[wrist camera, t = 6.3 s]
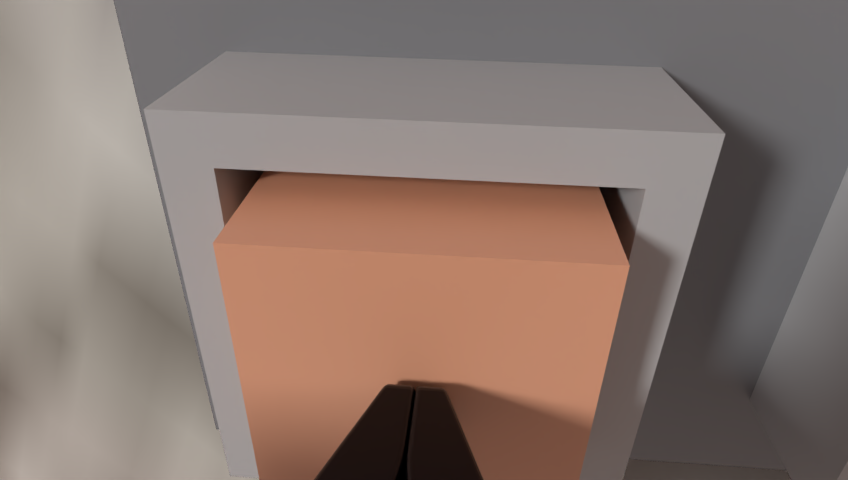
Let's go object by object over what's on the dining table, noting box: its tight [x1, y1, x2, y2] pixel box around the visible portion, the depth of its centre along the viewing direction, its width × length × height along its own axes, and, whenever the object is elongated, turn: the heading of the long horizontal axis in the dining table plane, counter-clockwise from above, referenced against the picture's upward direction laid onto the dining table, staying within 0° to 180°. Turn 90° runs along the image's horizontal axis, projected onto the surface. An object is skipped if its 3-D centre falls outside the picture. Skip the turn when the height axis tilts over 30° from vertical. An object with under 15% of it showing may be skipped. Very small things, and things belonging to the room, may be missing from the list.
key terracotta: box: [213, 171, 630, 480], centre depth 10 cm, size 5×5×3 cm
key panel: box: [114, 0, 848, 480], centre depth 11 cm, size 12×22×5 cm, turn 89°
